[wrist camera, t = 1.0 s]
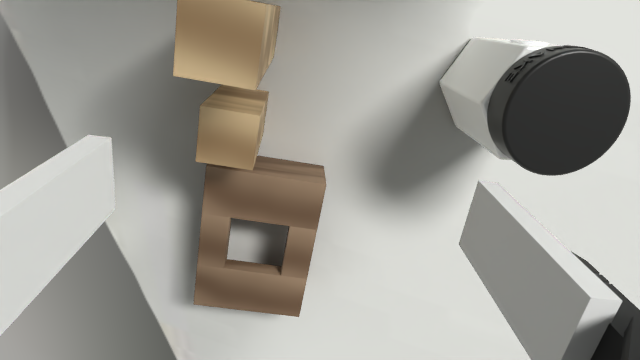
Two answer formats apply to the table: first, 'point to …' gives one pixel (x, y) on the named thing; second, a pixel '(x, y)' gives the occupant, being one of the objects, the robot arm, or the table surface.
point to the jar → (538, 102)
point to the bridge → (262, 206)
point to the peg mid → (231, 127)
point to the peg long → (225, 41)
